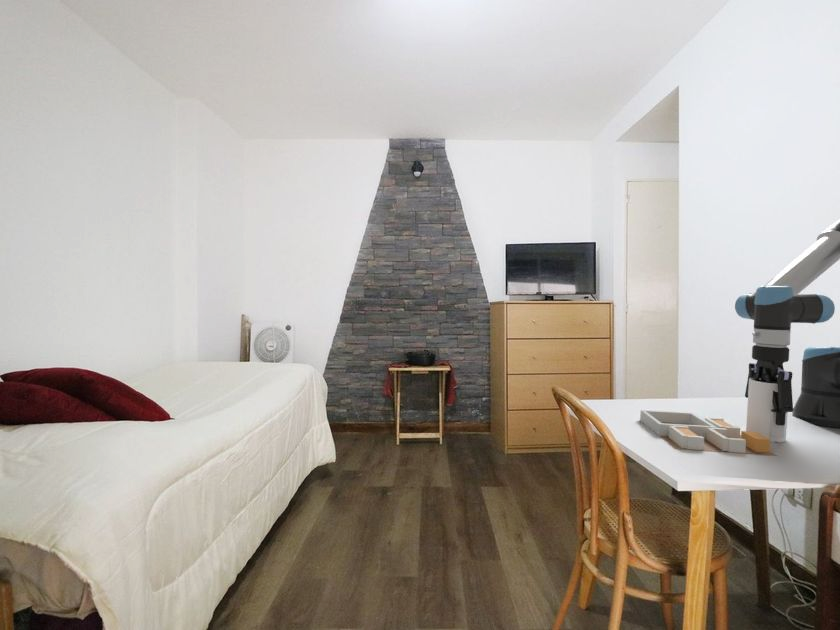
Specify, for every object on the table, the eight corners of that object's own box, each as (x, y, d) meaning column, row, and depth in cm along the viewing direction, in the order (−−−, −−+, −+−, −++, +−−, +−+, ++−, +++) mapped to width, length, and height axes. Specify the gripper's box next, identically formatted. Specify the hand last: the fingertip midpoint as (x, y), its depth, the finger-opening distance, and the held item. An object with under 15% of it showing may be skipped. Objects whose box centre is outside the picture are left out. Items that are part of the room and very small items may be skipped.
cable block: (754, 443, 108) (754, 431, 108) (769, 452, 102) (770, 439, 102) (741, 442, 109) (741, 431, 109) (755, 451, 103) (756, 439, 103)
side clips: (721, 429, 120) (721, 418, 120) (764, 454, 101) (764, 441, 101) (653, 425, 123) (653, 414, 122) (683, 448, 104) (683, 436, 104)
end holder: (691, 423, 125) (692, 412, 125) (717, 439, 111) (717, 427, 111) (640, 420, 127) (640, 409, 127) (658, 435, 114) (659, 424, 113)
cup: (793, 447, 109) (797, 384, 109) (756, 444, 111) (759, 382, 110) (773, 437, 117) (777, 378, 117) (739, 434, 119) (742, 376, 118)
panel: (722, 428, 124) (722, 424, 124) (777, 460, 100) (777, 455, 100) (640, 424, 127) (640, 420, 127) (674, 453, 104) (674, 448, 104)
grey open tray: (724, 440, 111) (725, 428, 111) (745, 452, 102) (745, 440, 102) (705, 438, 111) (706, 427, 111) (724, 451, 103) (724, 438, 102)
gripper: (732, 340, 124) (728, 419, 125) (781, 350, 103) (775, 444, 104) (761, 341, 123) (757, 420, 124) (817, 351, 102) (811, 446, 103)
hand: (765, 431), depth 114 cm, fingers closed on cup, 8 cm apart
